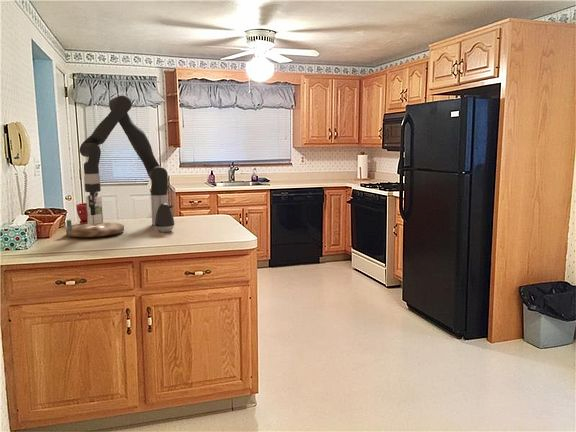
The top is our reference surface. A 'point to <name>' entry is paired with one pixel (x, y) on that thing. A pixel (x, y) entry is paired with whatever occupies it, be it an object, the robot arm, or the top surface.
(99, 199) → the syrup box
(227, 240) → the top surface
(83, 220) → the plant pot
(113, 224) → the disc
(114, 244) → the top surface
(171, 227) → the pump dispenser
